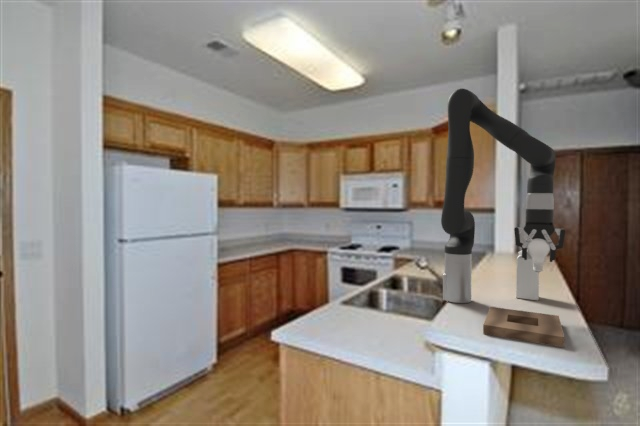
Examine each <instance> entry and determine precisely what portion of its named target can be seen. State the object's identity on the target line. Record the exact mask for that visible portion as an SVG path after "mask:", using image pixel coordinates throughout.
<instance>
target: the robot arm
mask: <svg viewBox="0 0 640 426" xmlns="http://www.w3.org/2000/svg"><path fill="white" fill-rule="evenodd" d="M447 120H448V121H447V122H448V135H447V136H448V137H447V147H446V149H447V150H446V151H447V152H446V162H445V185H444V186H445V187H444V198H443V205H442V211H441V218H440V219H441V220H440V224H441V228H442V230H443V231H444V232H445V233H446V234H447V235H449V239H448V241H447V242H446V244H445V245H444V269H443V270H444V273H443V274H442V301H446V302H450V303H455V304H467V303H471V302H472V273H473V272H472V270H473V269H472V267H473V266H472V265H473V264H472V262H473V261H472V260H473V259H472V256H473V255H472V254H473V251H472V250H473V248H474V245H475V234H476V233H475V231H476V222H475V217H474V215H473V213H471V212H472V211H469V210H467V209H465V197H466V192H467V190H468V188H469V186H470V183H471V180H472V179H473V178H472V177H473V174H474V167H475V166H474V164H475V152H474V144H473V140H472V135H471V128H470V127H471V125H470V124H471V123H473V124H475V125H477V126H479V127H480V128H482V129H483V130H485V132H487V133H488V135H490V136H491V137H492V138H494V139H495V140H496V141H497V142H499V143H500V144H502V145H503V146H505V147H506V148H507V149H509V150H511V151H513V152H515V154H517V155H518V156H519V157H521V159H523V160H524V161H526V162H527V163H528V164H530V171H529V172H530V173H529V177H528V179H527V184H526V185H527V186H526V199H525V221H524V222H525V224H524V226H523V227H518V226H515V227H514V229H513V231H514V238H515V239H514V242H515V245H516V246H517V247H520V248H521V250H522V258H524V260H527V245H528V244H529V242H530V241H531V239H537V238H539V239H544V240H547V242H548V244H549V246H550V252H549V262H550V263H553V261H555V260H556V251H557V250H559V249H563V248H564V241H565V237H566V230H565V228H555V226H554V213H555V211H554V210H555V209H554V207H555V197H554V174H555V169H556V152H555V150H554V149H553V147H551V146H549V145H548V144H546V143H544V142H543V141H541V140H540V139H538V138H537V137H534V136H532V135H531V134H529V133H528V132H527V131H526V130H525V129H523V128H521V127H520V126H518V125H517V124H516V123H514V122H512V121H510V120H508V119H506V118H505V117H503V116H501V115H499V114H497V113H496V112H495V111H493V110H491V109H490V108H489V107H488V106H487V105H486V104H485V103H483V101H482V100H481V99H479V97H478V96H477V94H476V93H474V92H472V91H470V90H469V89H466V88H457V89H456V90H455V91H453V92H452V93H451V94H450V96H449V98H448V101H447ZM523 231H524V233H525V234H526V235H527V237H526V238H525V241H524V242H521V238H520V234H522V233H523ZM555 232H556V235H557V236H558V241H557V244H554V242H553V240H552V238H551V236H552V235H553V234H554V233H555Z"/></svg>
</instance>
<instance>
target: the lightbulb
mask: <svg viewBox="0 0 640 426" xmlns="http://www.w3.org/2000/svg"><path fill="white" fill-rule="evenodd" d="M526 248H527V250H528V252H529V254H530V255H531V257H532V261H533V265H534V266H533V270H534V271H536V272H539V273H541V272H543V271H544V262H545V259H546V258H547V256H548V255H550V250H551V247H550V246H549V244H548V242H547V240H544V239H539V238H537V239H531V241H530V242H529V244H528V245H527V247H526Z"/></svg>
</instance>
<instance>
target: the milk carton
mask: <svg viewBox="0 0 640 426" xmlns="http://www.w3.org/2000/svg"><path fill="white" fill-rule="evenodd" d="M517 254H518V256H517V257H516V272H515V273H516V278H515V279H516V280H515V281H516V282H515V283H516V284H515V285H516V286H515V287H516V290H515V292H516V293H515V298H516V299H524V300H531V301H539V297H540V296H539V295H540V294H539V293H540V289H539V288H540V286H539V285H540V272H536V271H534V270H533V266H534V265H533V261H532V257H531V255H530V254H529V252H528V250H527V260H524V258H522V249H521V250H520V251H518V252H517Z"/></svg>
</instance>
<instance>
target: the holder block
mask: <svg viewBox="0 0 640 426" xmlns="http://www.w3.org/2000/svg"><path fill="white" fill-rule="evenodd" d="M482 326H483V327H482V328H483V329H482V331H483V332H482V334H483V335H488V336H489V335H490V336H493V335H494V337H499V336H500V337H499V338H505V337H506V339H512V340H517V341H525V342H530V343H536V344H542V345H548V346H554V347H558V348H559V347H560V348H565V335H564V330H563V326H562V322H561V319H560V315H558V314H557V315H555V314H549V313H541V312H540V313H539V312H532V311H528V310H527V311H525V310H517V309H509V308H503V307H495V306H490V307H489V308H488V312H487V314H486V317H485V319H484V322H483V324H482Z"/></svg>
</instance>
